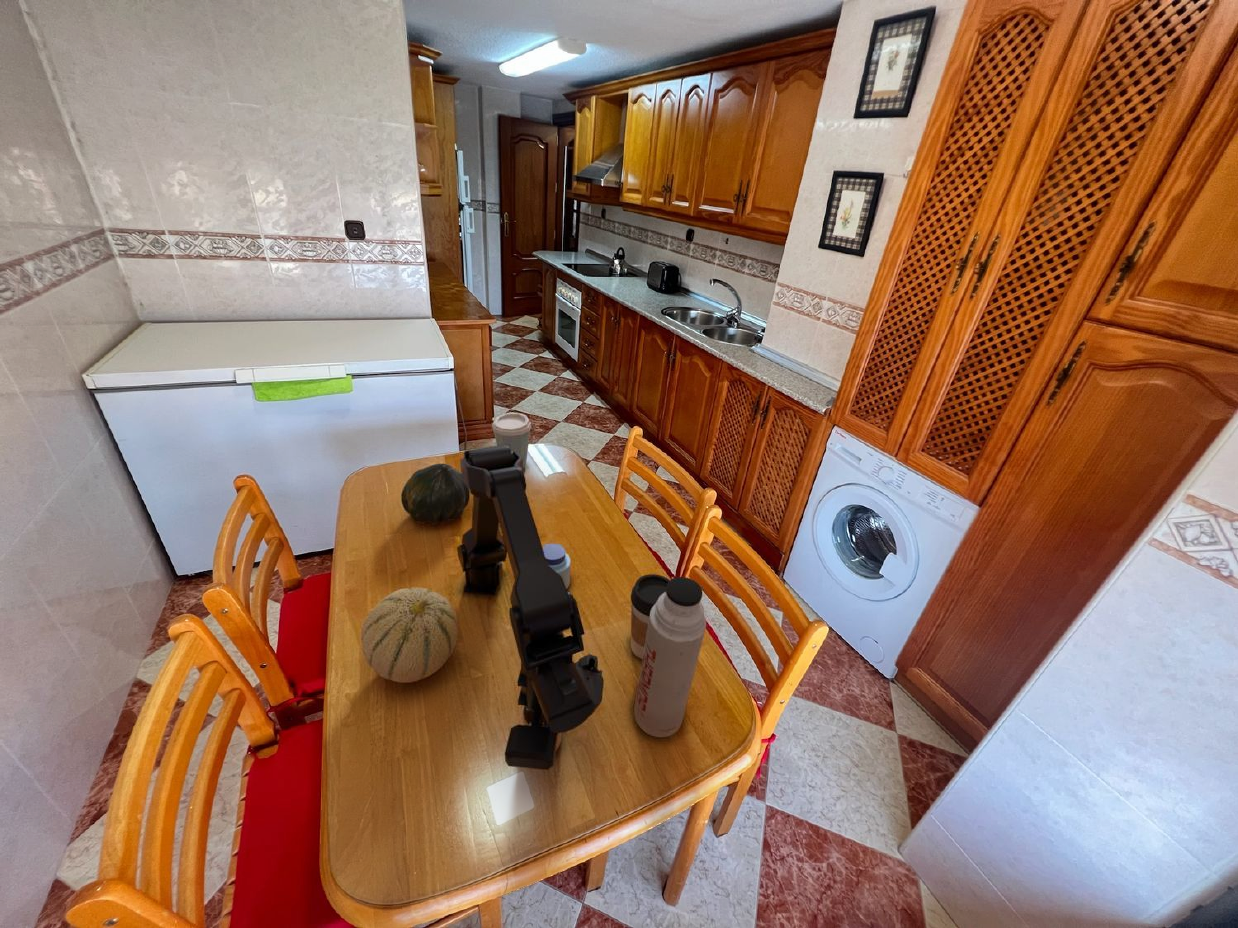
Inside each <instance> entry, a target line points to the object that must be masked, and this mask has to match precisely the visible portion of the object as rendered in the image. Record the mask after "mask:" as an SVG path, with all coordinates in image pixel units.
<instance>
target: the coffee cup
mask: <svg viewBox="0 0 1238 928" xmlns="http://www.w3.org/2000/svg"><path fill="white" fill-rule="evenodd" d="M670 580H671V579H669V578H667V577H665V576H663V575H660V574H656V573H650V574H644V575H642V576H640V577H639V578H638V579H637V580H636V582H635V583H634V585H633V587H632V589H631V593H630V602H631V606H630V607H631V608H630V609H631V611H630V649H631V651H632V653H633V654H634V655H635V656H636V657H637V658H639V659H641V660H643V653H644V647H645V641H646V635H647V629H648V623H649V617H650V612H651V609H652V607H653V606H654V605H655V604H656V602H657V600H658V599H659V597H660V596H661V595H662V594H663V593H665V592H666V587H667V584H668V582H669V581H670Z"/></svg>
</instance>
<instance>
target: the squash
mask: <svg viewBox="0 0 1238 928" xmlns="http://www.w3.org/2000/svg"><path fill="white" fill-rule="evenodd" d="M470 494H471V493H470V489H469V488H468V486H467V485H466V483H465V482H464V480H463V476H462V472H461V471H460V470H458V469H456V468H455V467H453V466H452V465H449V464H447V463H435V464H432V465H429V466H427V467H424V468H421V469H418V470H416V471H415V472H414V473H413V474H412V475H411V476H410V478H408V480H407V481H406V482H405V485H404V487H403V488H402V491H401V494H400V495H401V499H400V501H401V505H402V507H403V509H404V511H405V512H406V513H407V514H409V516H410V518H411V520H413V521H414V522H417V523H420V524H421V523H422V524H423V523H427V522H428V523H429V524H433V525H436V524H438V522H441V523H445V522H448V521H453V520H458V519H460V518H461V517H462V516H463V514H464V511H465V509H466V507H467V506H468V504H469V503H470V498H471V495H470Z"/></svg>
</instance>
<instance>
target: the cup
mask: <svg viewBox="0 0 1238 928" xmlns="http://www.w3.org/2000/svg"><path fill="white" fill-rule="evenodd" d="M533 715H534V711H528V710H527V706H522V705H521V709H520V725H528V726H529V723H530V722H532V719H533ZM543 716H544V714H543V712H542V717H541V722H540V723H542V722H543V721H542V719H543ZM562 735H563V733H558V736H557V744H556V751H557V750H558V749H559V747H560V746H561V743H562Z"/></svg>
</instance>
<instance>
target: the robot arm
mask: <svg viewBox="0 0 1238 928" xmlns="http://www.w3.org/2000/svg"><path fill="white" fill-rule="evenodd" d="M459 465H460V466H459V467H460V473H461V474H462V476H463V480H464V482H465V483H466V485H467V486H468V488H469V492H470V494H471V495H472V496H473V498H472V500H473V501H472V516H471V517H472V520H471V528H470V529H468V530H467V531H465V532H464V533H463V534H462V537H461V544H459V545H458V546H457V547H456V550H457V557H458V561H459V563H460V567H461V569H462V573H464V574H465V584H464V586H463V589H462V590H463V592H465V593H474V594H484V595H485V594H486V595H495V594H496V592H497V590H498V588H499V587H500V585H501V584H502V581H503V578H504V572H503V571H504V570H503V562H507V561H506V560H507V557H508V559H509V564H510V567H511V571H512V575H513V579H514V582H513V585H512V590H511V591H510V596H509V602H510V605H511V607H510V608H509V611H508V613H509V614H508V615H509V620H510V626H511V628H512V633H513V637H514V640H515V644H516V649H517V653H518V656H519V659H520V670H519V674H518V677H517V682H516V683H517V687H520V692H519V694H518V698H517V706H521V707H522V706H527V710H528V711H534V715H533V719H532V722H530V723H529V726H528V725H521V724H516V725H514V726H512V727H510V730H509V734H508V739H507V743H506V747H505V751H504V761H505V764H506V765H507V766H508V767H513V768H524V769H532V770H542V771H549V770H550V769H551V768H553V767H554V761H555V756H556V752H557V750H556V744H557V736H558V733H562V734H563V733H568V732H570V731H572V730H574V729H576V728H578V727H579V726H581V725H582V724H584V723H585V722H586V721H587V720H588V719H589V718H590V716H592V715H593V714H594V713H595V711H596V710H597V709H598V707H599V706H600V705H601V703H602V701H603V694H604V684H605V680H604V677H603V670H601V669H599V663H598V662H599V660H598V656H597V655H594V654H590V653H588V654H586V655H584V656H582V657H580V658H579V659H578V661H576V662H574V659H573V657H574V655H575V654H578V653H581V652H584V651H585V647H584V642H583V636H584V635H585V634H586V633H585V630H584V625H583V621H582V618H581V613H580V610H579V606H578V602H577V599H576V598H575V597H574V595H573V594H572V593H571V592H570V591H569V590H567V589H568V588H567V589H566V587H565V584H564V581H563V579H562V577H561V575H559V574H558V573H557V572H556V571H555V570H553V569H552V568H551V567H550V566H549V565H548V563H547V560H546V558H545V555H544V551H543V548H542V547H543V545H542V542H541V538H540V535H539V532H538V529H537V526H536V522H535V519H534V516H533V515H534V514H533V513H532V512H533V511H532V509H531V506H530V502H529V499H528V496H527V492H526V489H527V482H526V481H527V480H526V477H525V467H523V457H522V456H521V455H520V454H519V453H518V452H517V451H515V450H513V451H511V450H510V447H509V445H508V444H507V445H499V446H497V445H493V446H486V447H481V448H480V447H479V448H474V449H467V450H465V451H464V453H463V458H460V460H459ZM567 630H570V632H571V635H566V636H565V634H564V633H563V632H564V631H567ZM542 712H543V714H544V716H543V719H542V721H543V722H542V723H540V722H541V717H542Z"/></svg>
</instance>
